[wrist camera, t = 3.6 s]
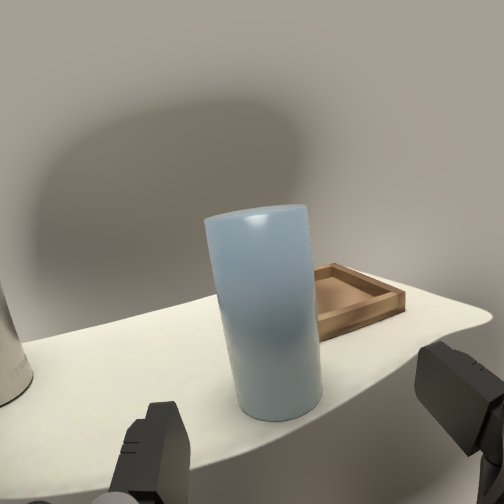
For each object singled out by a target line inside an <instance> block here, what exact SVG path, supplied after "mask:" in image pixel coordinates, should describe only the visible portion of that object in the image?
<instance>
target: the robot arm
mask: <svg viewBox="0 0 504 504" xmlns="http://www.w3.org/2000/svg"><path fill="white" fill-rule="evenodd" d="M32 377H33V372H32V369H31V367H30V365H29V362H28V360H27V357H26V355H25V353H24V350H23V348H22V345H21V343H20V340H19V338H18V335H17V332H16V329H15V327H14V324H13V321H12V318H11V315H10V312H9V309H8V306H7V303H6V299H5V296H4V293H3V289H2V286H1V282H0V405H2V404H5V403H7V402H9V401H10V400H12V399H14V398H15V397H16V396H18V395H19V394H20V393H22V392H23V391H24V390H25V389H26V388H27V386H28V385H29V383H30V382H31V380H32ZM415 393H416V395H417V398H418V399H419V401H420V402H421V403H422V404H423V405H424V406H425V408H426V409H427V410H428V411H429V412H430V413H431V414H432V415H433V417H434V418H435V419H436V420H437V421H438V422H439V424H440V425H441V426H442V427H443V428H444V429H445V430H446V432H447V433H448V434H449V435H450V436H451V437H452V439H453V440H454V441H455V442H456V443H457V444H458V446H459V447H460V448H461V449H462V450H463V451H464V453H465V454H466V455H467V456H468V457H469V456H471V455H473V454H474V453H476V452H478V451H479V450H481V451H482V452H483V455H482V457H481V463H480V478H479V487H478V496H477V503H476V504H504V382H503V381H502V380H501V379H500V378H498V377H497V376H496V375H494V374H493V373H492V372H490V371H489V370H488V369H485V367H484V366H483V365H481V364H480V363H477V361H476V360H474V359H473V358H472V357H471V356H469V355H468V354H466V353H463V352H460V351H457V350H453V349H451V348H450V347H449V346H447V345H446V344H445V343H443V342H441V341H438V342H436V343H433V344H430V345H427V346H424V347H422V348H420V350H419V353H418V361H417V369H416V377H415ZM123 443H124V445H122V448H121V451H120V453H121V455H119V458H118V461H117V464H116V468H115V471H114V474H113V478H112V481H111V485H110V488H109V491H108V493H105V494H102V495H100V496H99V497H97V498H96V499H95V500H94V501H92V503H91V504H187V503H188V484H189V468H190V442H189V438H188V435H187V432H186V429H185V427H184V424H183V421H182V419H181V416H180V413H179V411H178V408H177V405H176V403H175V402H174V401H168V402H156V403H150V404H149V406H148V410H147V414H146V417H145V419H136V420H135V422H134V423H133V424H132V425H131V426H130V427H129V428H128V430H127V432H126V435H125V438H124V441H123ZM28 504H50V503H48V502H45V501H34V502H30V503H28Z"/></svg>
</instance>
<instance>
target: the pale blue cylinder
mask: <svg viewBox="0 0 504 504" xmlns="http://www.w3.org/2000/svg"><path fill="white" fill-rule="evenodd" d="M204 223H205V229H206V235H207V241H208V247H209V253H210V259H211V265H212V270H213V276H214V281H215V287H216V292H217V298H218V303H219V309H220V314H221V319H222V324H223V329H224V334H225V339H226V344H227V349H228V354H229V359H230V364H231V369H232V374H233V378H234V383H235V388H236V392H237V397H238V401H239V405H240V407H241V409H242V410H243V411H244V412H245V413H246V414H248V415H250V416H251V417H254V418H256V419H260V420H264V421H285V420H290V419H294V418H297V417H299V416H302V415H304V414H306V413H307V412H309V411H310V410H312V409H313V408H314V407H315V406H316V405H317V404H318V402H319V401H320V398H321V395H322V383H321V362H320V344H319V328H318V314H317V301H316V289H315V278H314V267H313V257H312V248H311V237H310V228H309V219H308V211H307V206H306V205H278V206H268V207H260V208H253V209H246V210H240V211H234V212H229V213H224V214H220V215H216V216H213V217H209V218H207V219H205V220H204Z"/></svg>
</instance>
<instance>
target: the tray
mask: <svg viewBox="0 0 504 504" xmlns="http://www.w3.org/2000/svg"><path fill="white" fill-rule="evenodd" d="M314 278H315V289H316V301H317V314H318V328H319V342H321V341H324V340H327V339H330V338H333V337H336V336H339V335H342V334H345V333H348V332H350V331H353V330H356V329H359V328H362V327H364V326H367V325H370V324H372V323H375V322H378V321H380V320H383V319H385V318H388V317H391V316H393V315H396V314H398V313H401V312H403V311H405V291H403V290H400V289H398V288H395V287H393V286H391V285H388V284H386V283H383V282H381V281H378V280H376V279H373V278H371V277H368V276H366V275H363V274H361V273H358V272H356V271H353V270H351V269H348V268H346V267H343V266H341V265H338V264H336V263H333V264H329V265H325V266H321V267H317V268H314Z"/></svg>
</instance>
